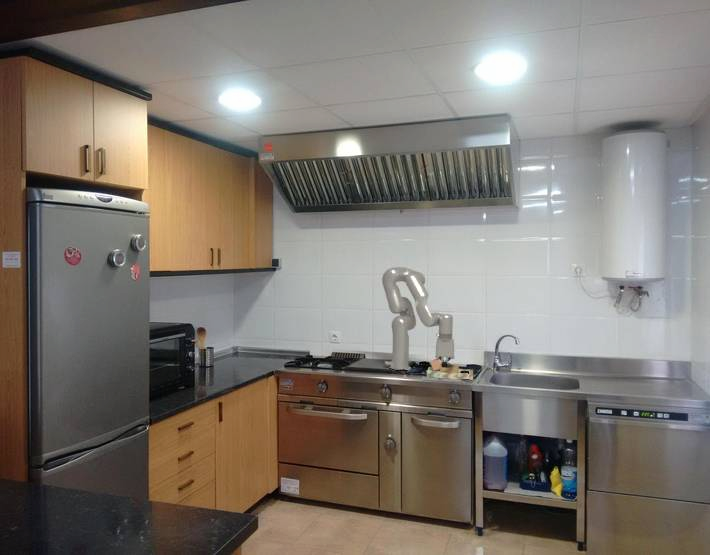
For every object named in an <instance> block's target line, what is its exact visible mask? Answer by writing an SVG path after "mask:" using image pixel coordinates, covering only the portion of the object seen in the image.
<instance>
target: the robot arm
mask: <svg viewBox="0 0 710 555" xmlns="http://www.w3.org/2000/svg"><path fill="white" fill-rule="evenodd" d="M381 278H382V279H381V281H382V287H383V289H384V293H385V297H386V301H387V304H388V308H389V311H390V312H391V314H394V315H395V314H396V315H398V316H395V317H394V318H393V319H392V320H391V330H392V356H391V357H392V358H391V359H392V360H390V361H388V360H384V365H386V366H389V369H390V368H393V369H394V368H395V369H405V370H408V371H411V369H412V367H411V366H409V358H410V357H409V353H410V352H409V350H410V336H409V332H408V331H411V330H413V329H415V328H416V325H417V318H416V315H415V312H414V311H415V310H416V314H417V316H418V318H419V320H420V322H421V323H422V324H423V326H425V327H427V328H433V327H437V326H438V333H436V334H435V337H437V339H436V344H435V359H437V358H438V359H439V360H440V362H441V364H442V367H444V368H447V364H448V362H449V361H450V360H455V341H454V338H453V327H454V326H453V323H454V322H453V321H454V320H453V315H452V314H448V313H439V312H431V311H430V310H429V307H428V305H427V304H428V303H427V301H428V297H429V293H428V291H427V289H426V287H425V283H426V277H425V275H424V274H423V273H422V272H419V271H418V270H417V271H416V270H414V269H410V268H408V267H404V266H403V267H402V266H399V267H394V266H393V267H390V268H387V270H385V272H384V273H383V274H382V277H381ZM399 282H400V283H401V282H403V283H405V284H406V287H407V288H408V290H409V292H410V294H411V296H412V298H413V300H414V302H415V303H414V304H415V305H414V306H415V310H414V307H413V304H412V302H411V300H410V299H409V298H408V297H405V296H402V295H401V290H400V288H399V286H398V284H397V283H399ZM444 358H446V359H444Z"/></svg>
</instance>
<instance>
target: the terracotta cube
mask: <svg viewBox="0 0 710 555" xmlns="http://www.w3.org/2000/svg"><path fill="white" fill-rule="evenodd" d="M429 363H430V365H431V367H432V368H433V371H435V370H438V369H440V367H442V366H441V364H442V362H441V360H440V359H438V358H435V359H432V360H430V362H429Z"/></svg>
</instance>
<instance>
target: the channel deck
mask: <svg viewBox="0 0 710 555" xmlns="http://www.w3.org/2000/svg"><path fill="white" fill-rule="evenodd" d="M441 366H442V363H441ZM459 367H460V366H459V364H450V363H447V368H444V367H440V369H438V370H435V371H433V368H432V366H429V367H428V368H427V371H426V378H431V379H432V378H433V379H434V378H435V379H437V378H438V379H448V380H449V379H450V380H461V379H469V380H468V381H473V380H474V370H473V369H466V368H464V369H463V368H459ZM461 371H469V374H468V373H460V372H461Z"/></svg>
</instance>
